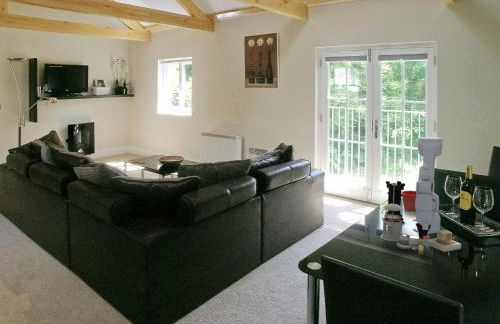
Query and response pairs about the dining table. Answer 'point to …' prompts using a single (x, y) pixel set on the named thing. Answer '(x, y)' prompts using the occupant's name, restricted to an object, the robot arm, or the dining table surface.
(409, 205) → the flower pot
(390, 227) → the french press
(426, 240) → the crank
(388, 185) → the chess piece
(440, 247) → the tray
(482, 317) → the dining table surface
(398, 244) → the crank base
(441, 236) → the block
